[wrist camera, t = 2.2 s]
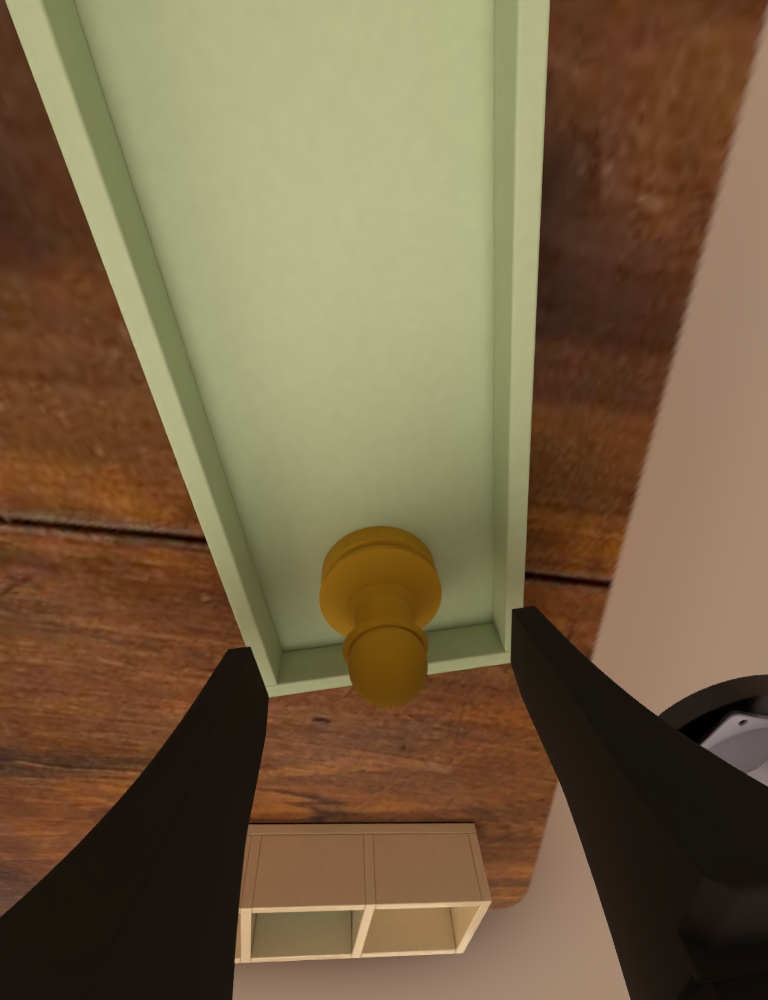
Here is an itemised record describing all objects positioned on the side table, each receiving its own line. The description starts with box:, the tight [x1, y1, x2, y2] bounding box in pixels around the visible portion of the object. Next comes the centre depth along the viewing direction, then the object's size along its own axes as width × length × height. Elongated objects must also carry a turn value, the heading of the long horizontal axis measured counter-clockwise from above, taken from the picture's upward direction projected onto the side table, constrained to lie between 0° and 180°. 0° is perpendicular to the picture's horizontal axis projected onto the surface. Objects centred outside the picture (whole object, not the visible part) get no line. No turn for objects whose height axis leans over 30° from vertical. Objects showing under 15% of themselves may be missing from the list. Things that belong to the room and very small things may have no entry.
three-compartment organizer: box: [235, 823, 492, 963], centre depth 24 cm, size 18×6×4 cm, turn 82°
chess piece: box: [319, 526, 442, 709], centre depth 14 cm, size 4×4×5 cm
